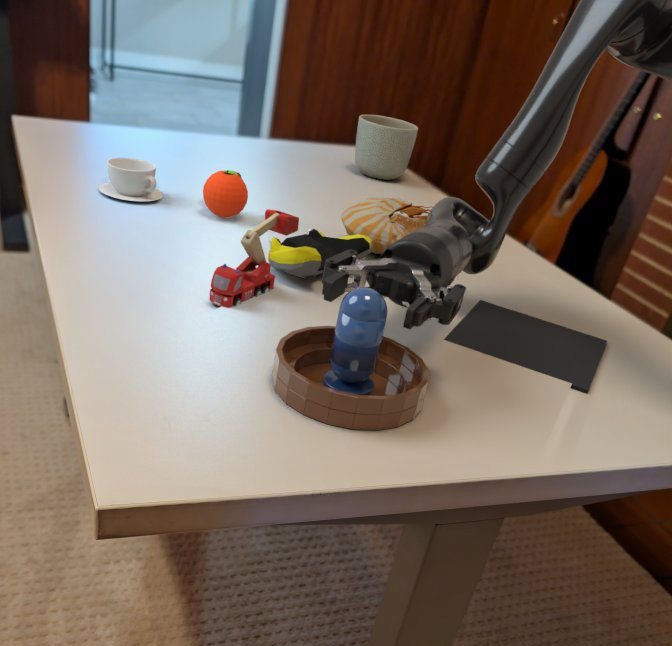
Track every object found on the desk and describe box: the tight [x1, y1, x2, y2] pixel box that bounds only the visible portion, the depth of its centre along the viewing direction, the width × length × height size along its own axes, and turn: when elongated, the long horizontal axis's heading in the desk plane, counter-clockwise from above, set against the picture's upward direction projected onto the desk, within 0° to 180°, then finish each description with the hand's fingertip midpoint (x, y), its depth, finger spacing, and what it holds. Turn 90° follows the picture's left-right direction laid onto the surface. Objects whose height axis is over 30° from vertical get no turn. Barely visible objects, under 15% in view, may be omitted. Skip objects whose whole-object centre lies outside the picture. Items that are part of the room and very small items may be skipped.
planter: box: [354, 114, 419, 181], centre depth 158 cm, size 12×12×11 cm
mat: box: [443, 299, 608, 394], centre depth 96 cm, size 18×18×1 cm
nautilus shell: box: [340, 196, 431, 256], centre depth 116 cm, size 8×22×15 cm
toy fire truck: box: [209, 208, 300, 309], centre depth 91 cm, size 3×14×10 cm, turn 151°
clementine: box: [202, 169, 249, 219], centre depth 117 cm, size 8×7×7 cm
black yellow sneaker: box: [267, 228, 372, 280], centre depth 103 cm, size 15×6×10 cm
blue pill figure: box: [322, 286, 389, 396], centre depth 73 cm, size 5×5×11 cm
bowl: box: [271, 325, 430, 431], centre depth 75 cm, size 15×15×4 cm
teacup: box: [97, 157, 164, 202], centre depth 119 cm, size 10×10×5 cm
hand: (367, 305), depth 72 cm, fingers open, 8 cm apart
